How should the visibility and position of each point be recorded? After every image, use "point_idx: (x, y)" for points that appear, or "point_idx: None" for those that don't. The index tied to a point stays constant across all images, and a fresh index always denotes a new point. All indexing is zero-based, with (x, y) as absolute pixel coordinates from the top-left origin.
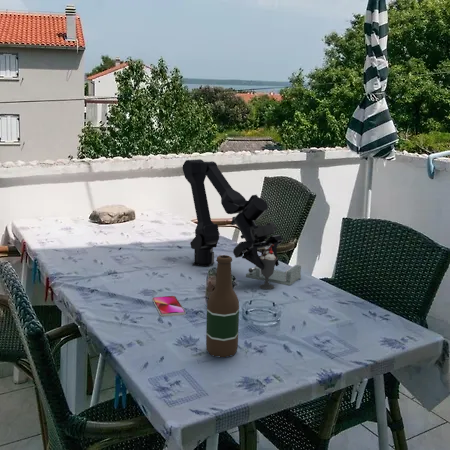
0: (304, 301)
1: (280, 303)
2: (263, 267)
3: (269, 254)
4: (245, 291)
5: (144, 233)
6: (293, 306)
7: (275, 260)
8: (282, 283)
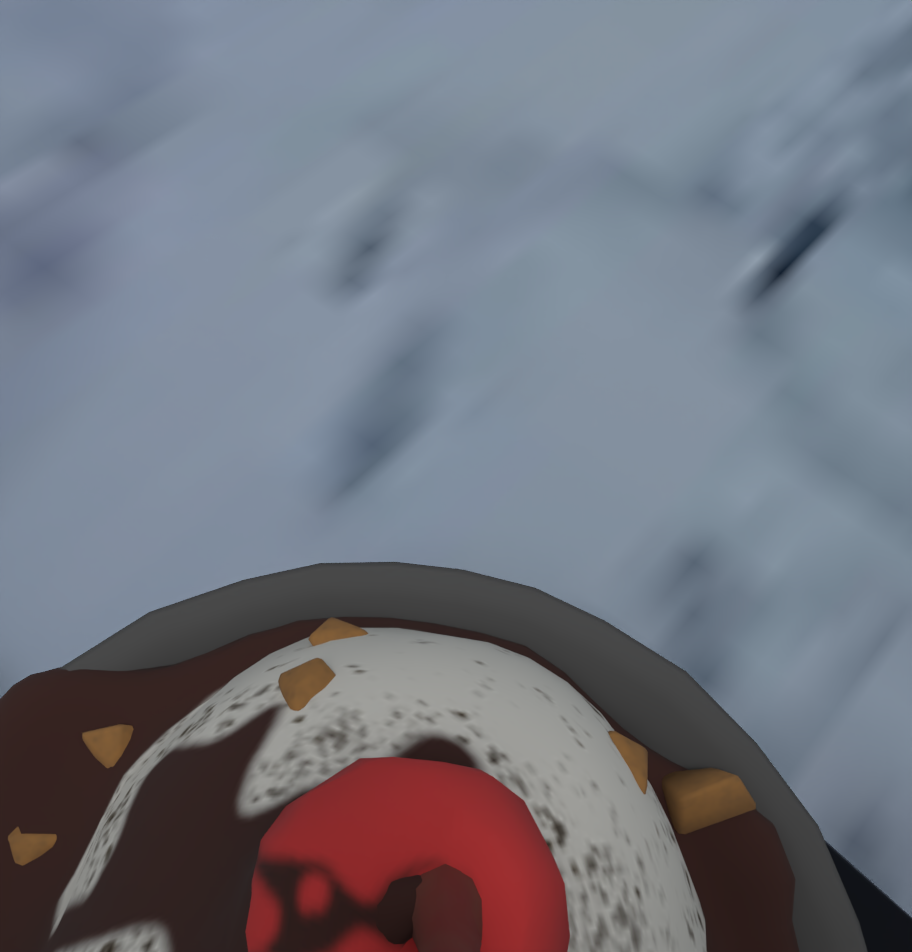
0: (392, 93)
1: (703, 218)
2: None
3: (582, 842)
4: None
5: None
6: (633, 74)
7: (354, 565)
8: None
